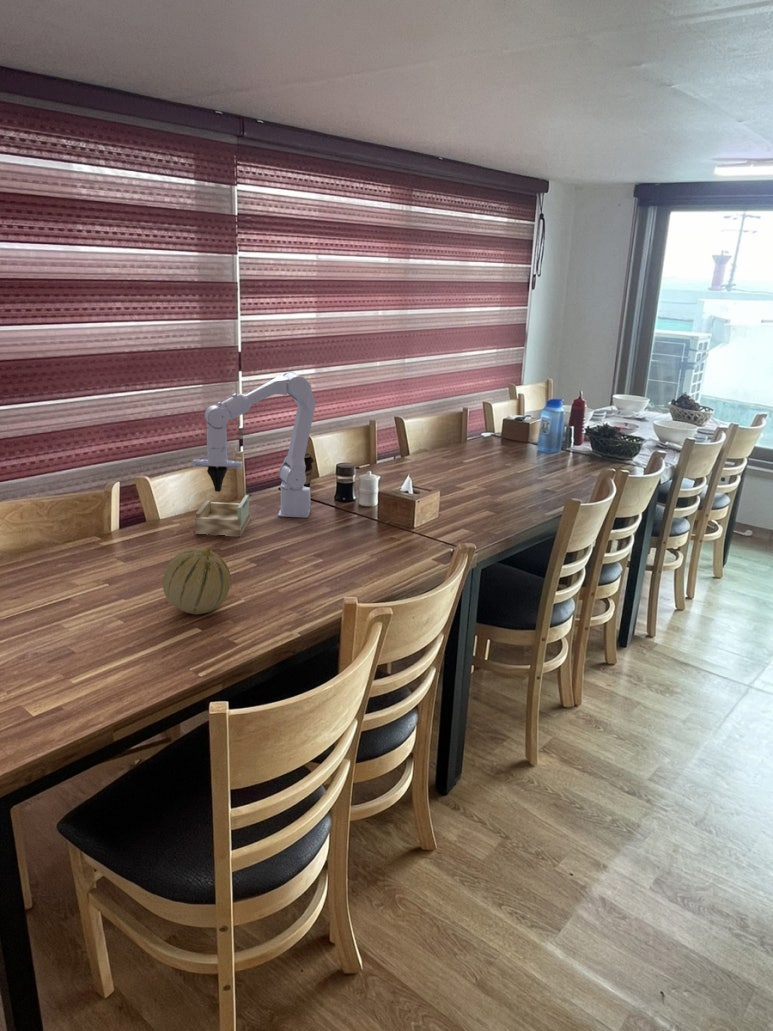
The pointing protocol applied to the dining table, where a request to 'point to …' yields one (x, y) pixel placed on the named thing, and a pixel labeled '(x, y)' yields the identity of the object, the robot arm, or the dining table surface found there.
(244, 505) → the pale green flat slab
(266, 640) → the dining table surface
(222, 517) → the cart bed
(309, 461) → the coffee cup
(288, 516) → the robot arm
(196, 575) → the cantaloupe
